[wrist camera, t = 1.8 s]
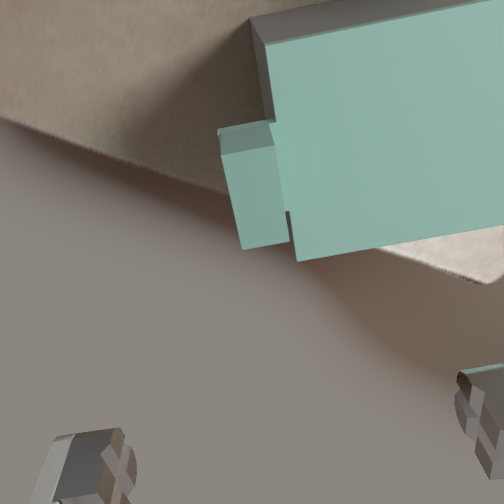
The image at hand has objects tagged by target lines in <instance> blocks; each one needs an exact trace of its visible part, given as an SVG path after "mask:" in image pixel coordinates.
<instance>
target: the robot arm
mask: <svg viewBox="0 0 504 504" xmlns="http://www.w3.org/2000/svg"><path fill="white" fill-rule="evenodd" d="M456 382H457V384H458V386H459V387H460V390H459V391H458V392H457V393H456V394H455V402H454V405H455V409H456V415H457V418H458V420H459V423H460V425H461V427H462V429H463V431H464V433H465V435H467V436H468V437H470V438H471V439H472V440H474V441H475V442H476V447H475V454H476V456H477V458H478V460H479V461H480V463H481V465H482V467H483V469H484V471H485V473H486V475H487V477H488V478H489V480H496V479H504V364H496V365H490V366H484V367H479V368H473V369H467V370H462V371H459V373H458V374H457V381H456ZM124 438H125V435H124V433H123V432H122V430H121V428H120V427H119V428H112V429H105V430H97V431H90V432H83V433H75V434H69V435H63V436H57V437H56V438H55V440H54V441H53V442H52V444H51V446H50V449H49V452H48V454H47V457H46V460H45V462H44V465H43V468H42V470H41V473H40V476H39V478H38V481H37V484H36V487H35V489H34V492H33V494H32V497H31V500H30V503H29V504H130V502H129V500H128V498H127V496H128V495H129V493H130V492H131V491H132V490H133V488H134V487H135V482H136V476H137V465H136V464H137V463H136V458H135V454H134V451H133V450H132V448H131V446H129V445H127V444H125V443H124Z"/></svg>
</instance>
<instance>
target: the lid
mask: <svg viewBox="0 0 504 504" xmlns="http://www.w3.org/2000/svg"><path fill="white" fill-rule="evenodd" d="M264 48H265V55H266V62H267V68H268V75H269V82H270V89H271V95H272V102H273V109H274V115H275V118H271V119H266V120H261V121H256V122H250V123H245V124H240V125H235V126H230V127H225V128H220V129H217V135H218V139H219V144H220V148H221V159H222V163H223V167H224V172H225V176H226V181H227V185H228V190H229V194H230V198H231V203H232V207H233V212H234V216H235V220H236V224H237V229H238V233H239V238H240V242H241V246H242V250H245V249H251V248H256V247H261V246H267V245H273V244H278V243H284V242H289V241H290V240H289V234H288V227H287V221H286V214H285V211H289V216H290V223H291V230H292V236H293V243H294V250H295V256H296V260H297V261H303V260H309V259H314V258H320V257H326V256H331V255H337V254H343V253H348V252H354V251H359V250H365V249H371V248H376V247H382V246H387V245H393V244H399V243H404V242H410V241H416V240H421V239H427V238H432V237H438V236H444V235H449V234H455V233H460V232H466V231H472V230H477V229H483V228H489V227H494V226H500V225H504V0H476V1H471V2H466V3H462V4H457V5H452V6H447V7H442V8H437V9H432V10H427V11H422V12H417V13H412V14H408V15H403V16H398V17H393V18H388V19H383V20H378V21H373V22H368V23H363V24H358V25H353V26H349V27H344V28H339V29H334V30H329V31H324V32H319V33H314V34H309V35H304V36H299V37H295V38H290V39H285V40H280V41H275V42H270V43H265V44H264Z"/></svg>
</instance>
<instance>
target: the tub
mask: <svg viewBox="0 0 504 504" xmlns="http://www.w3.org/2000/svg"><path fill="white" fill-rule="evenodd" d="M471 1H476V0H334V1H329V2H324V3H320V4H315V5H310V6H305V7H300V8H295V9H291V10H286V11H281V12H276V13H271V14H266V15H262V16H257V17H252V18H249V20H250V26H251V33H252V39H253V45H254V51H255V57H256V64H257V70H258V76H259V82H260V89H261V95H262V101H263V107H264V113H265V120H266V119H271V118H275V115H274V109H273V102H272V95H271V89H270V82H269V75H268V68H267V62H266V55H265V48H264V44H265V43H270V42H275V41H280V40H285V39H290V38H295V37H299V36H304V35H309V34H314V33H319V32H324V31H329V30H334V29H339V28H344V27H349V26H353V25H358V24H363V23H368V22H373V21H378V20H383V19H388V18H393V17H398V16H403V15H408V14H412V13H417V12H422V11H427V10H432V9H437V8H442V7H447V6H452V5H457V4H462V3H466V2H471ZM285 214H286V220H287V224H288V228H289V232H290V236H291V240H292V244H293V248H294V243H293V236H292V230H291V223H290V216H289V211H285ZM294 252H295V250H294Z"/></svg>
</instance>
